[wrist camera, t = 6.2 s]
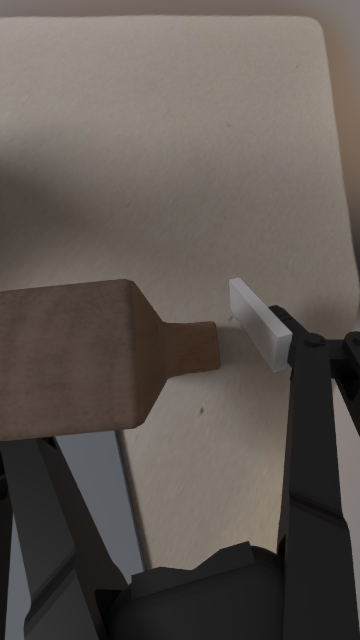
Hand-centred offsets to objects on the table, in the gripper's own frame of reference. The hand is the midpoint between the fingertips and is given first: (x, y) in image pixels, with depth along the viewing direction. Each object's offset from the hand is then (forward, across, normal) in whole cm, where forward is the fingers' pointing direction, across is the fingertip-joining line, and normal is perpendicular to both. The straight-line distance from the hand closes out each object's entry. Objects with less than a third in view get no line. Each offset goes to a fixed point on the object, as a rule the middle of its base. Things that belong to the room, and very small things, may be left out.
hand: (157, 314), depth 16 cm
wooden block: (+4, 0, -8) cm, 9 cm away
